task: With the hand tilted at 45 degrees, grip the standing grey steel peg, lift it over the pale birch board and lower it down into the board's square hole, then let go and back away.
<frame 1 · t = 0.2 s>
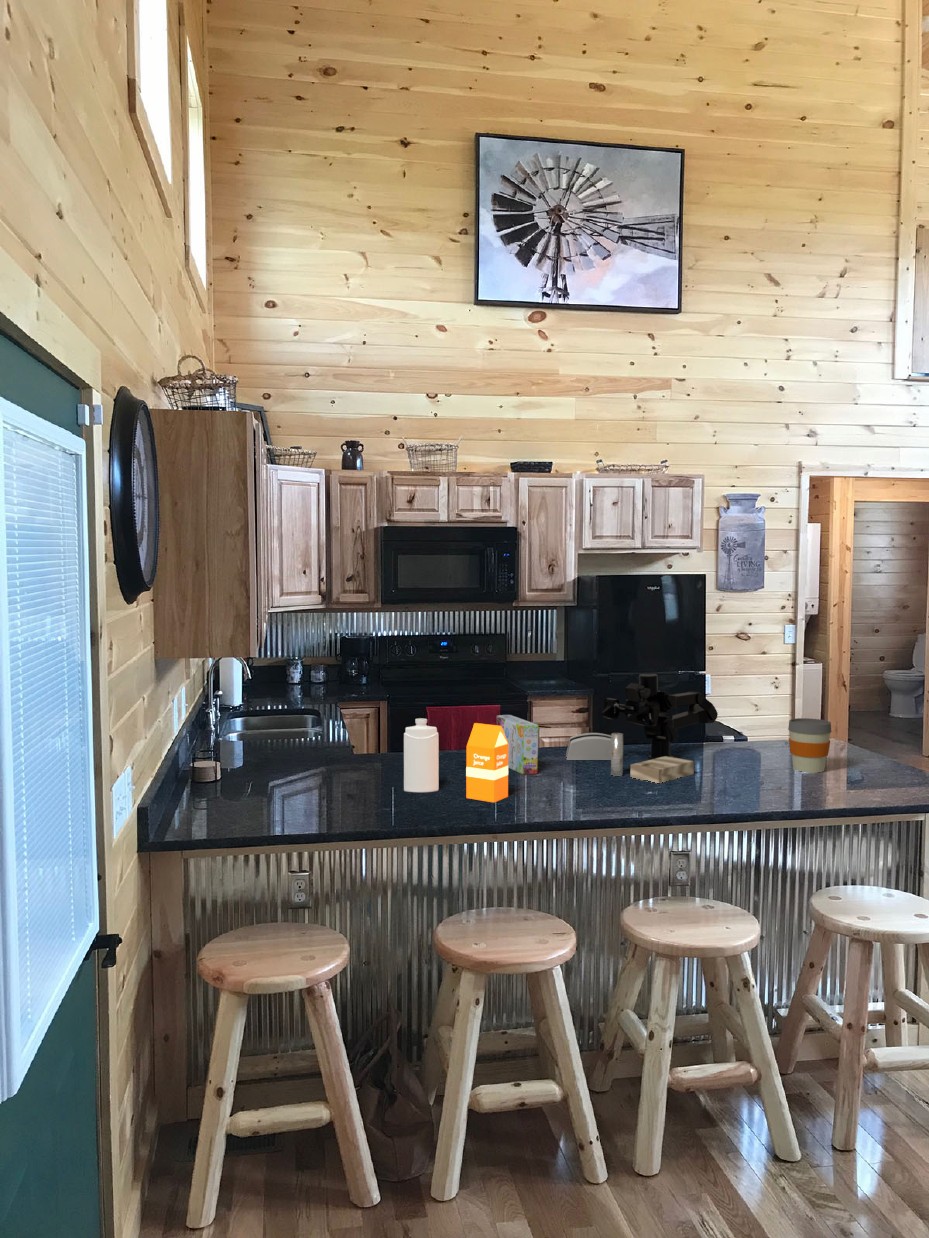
hand: (614, 716, 300), 16 cm above the counter, tool horizontal, fingers open, 9 cm apart
birch hole board: (662, 776, 293), on the counter
reusable coffee cup: (808, 770, 303), on the counter
orange juice: (487, 797, 268), on the counter
snack box: (516, 768, 305), on the counter
squeeze bottle: (421, 790, 275), on the counter
steel peg: (616, 775, 294), on the counter
napkin holder: (592, 760, 316), on the counter
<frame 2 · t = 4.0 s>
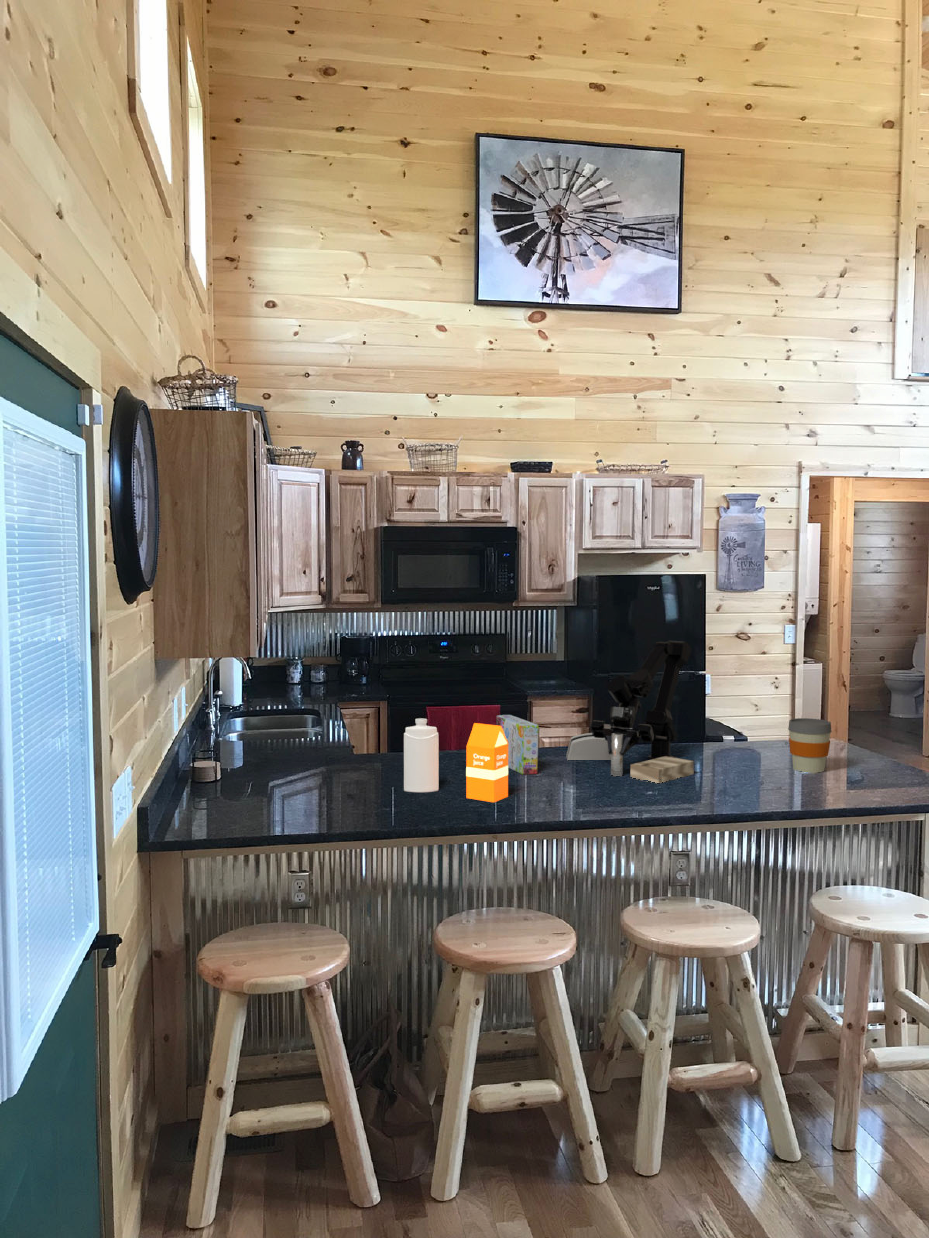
hand: (615, 754, 293), 7 cm above the counter, tool tilted 45°, fingers closed on steel peg, 3 cm apart
steel peg: (616, 775, 294), on the counter, touching gripper
everything else where it was.
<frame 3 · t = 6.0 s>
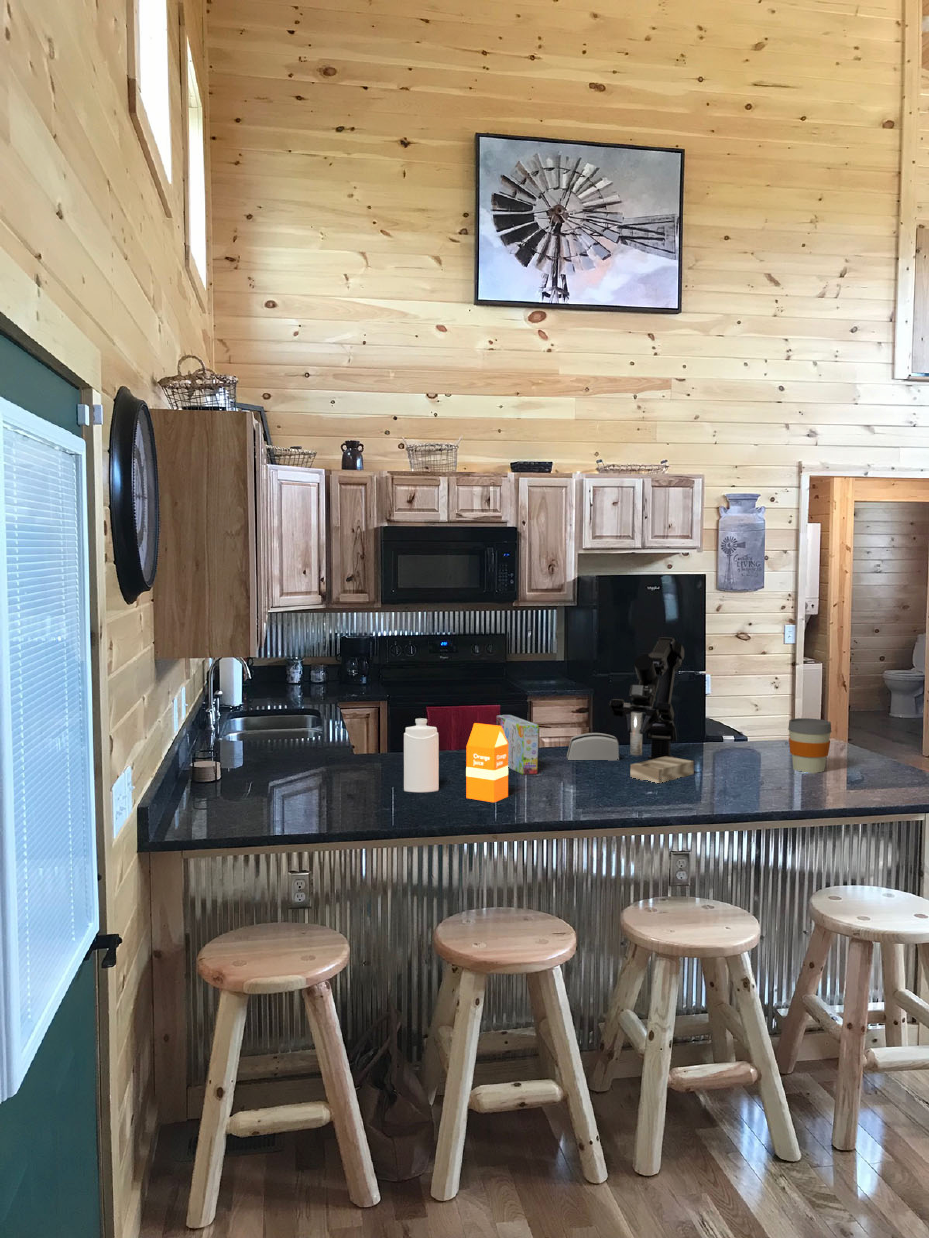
hand: (635, 732, 290), 13 cm above the counter, tool tilted 45°, fingers closed on steel peg, 3 cm apart
steel peg: (636, 754, 292), point 7 cm above the counter, touching gripper
everything else where it was.
when the fingers open (8 cm above the counter, at t = 8.1 s): steel peg stays where it is, resting in birch hole board.
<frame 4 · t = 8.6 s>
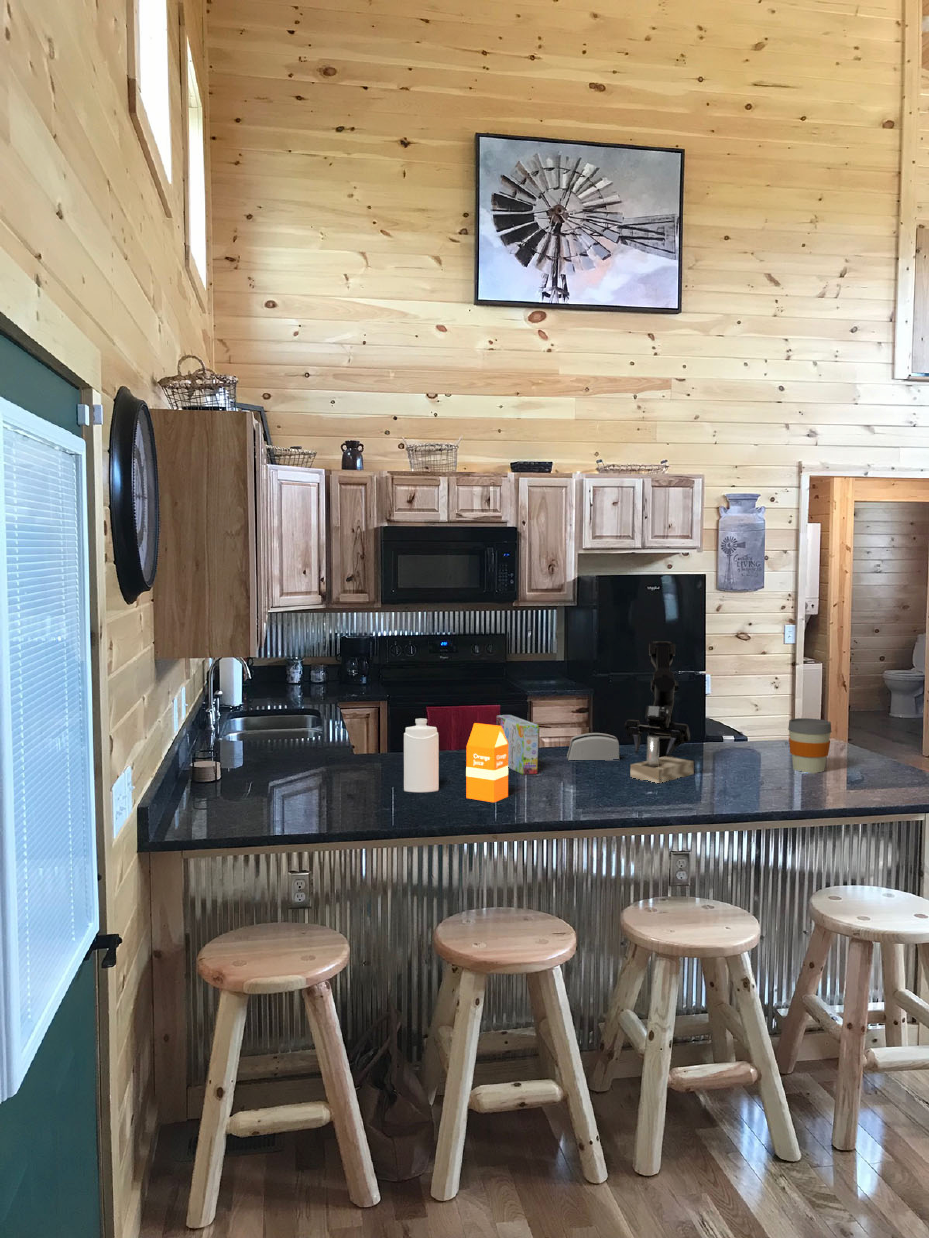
hand: (651, 754, 288), 8 cm above the counter, tool tilted 45°, fingers open, 9 cm apart
steel peg: (652, 778, 290), resting in birch hole board
everything else where it was.
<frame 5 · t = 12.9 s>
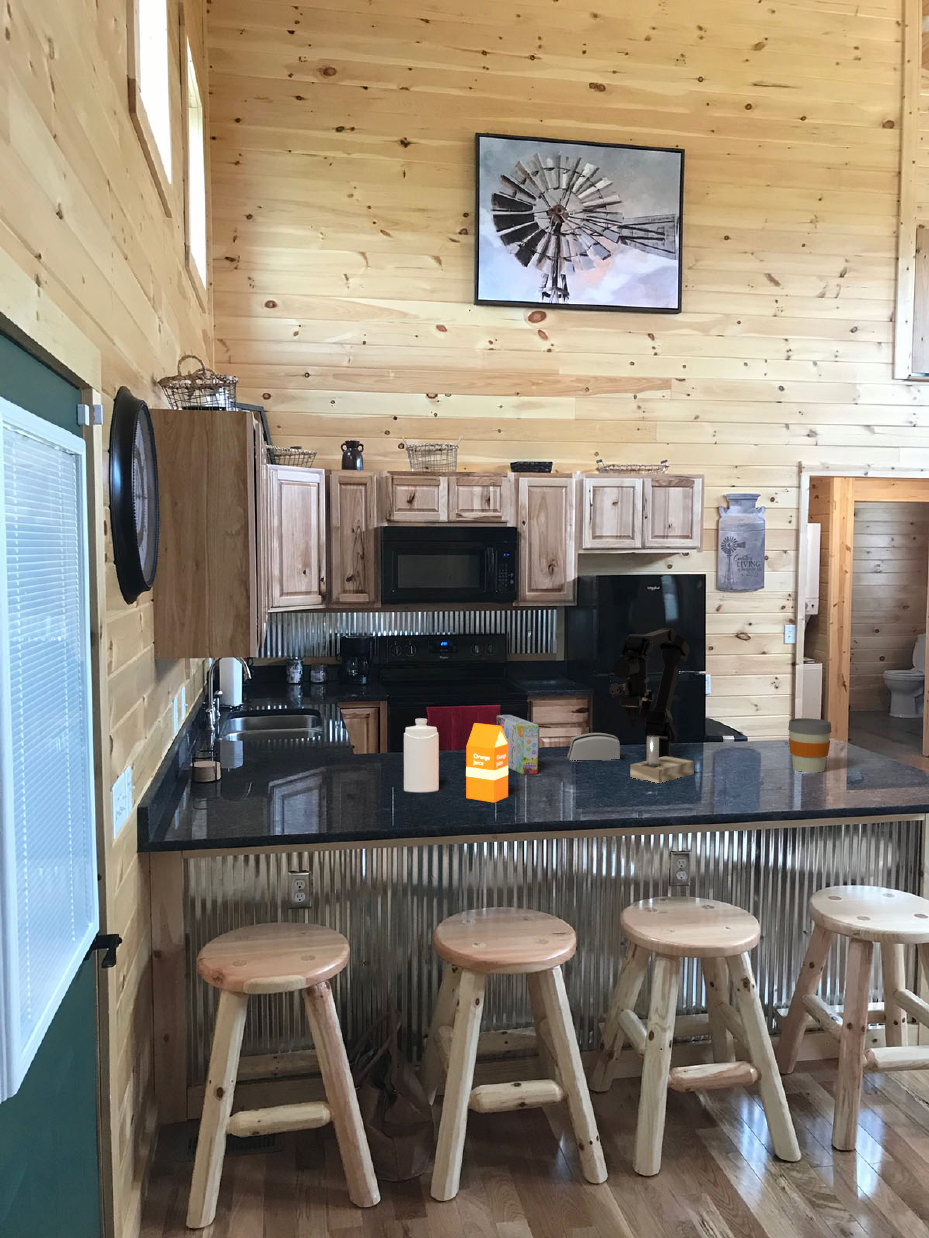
hand: (637, 725, 305), 13 cm above the counter, tool pointing down, fingers open, 9 cm apart
nothing on the counter moved.
at the end: steel peg 0.0 cm from the target spot, resting in birch hole board; steel peg tilted 1°; the gripper is holding nothing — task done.
